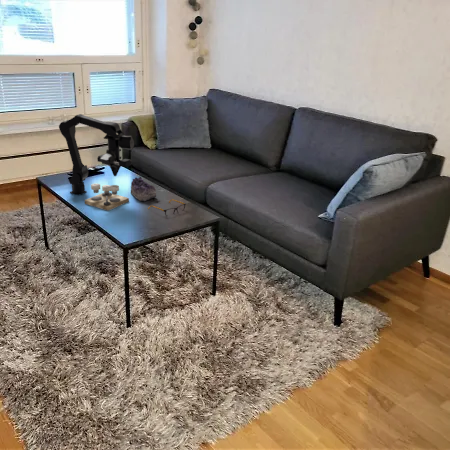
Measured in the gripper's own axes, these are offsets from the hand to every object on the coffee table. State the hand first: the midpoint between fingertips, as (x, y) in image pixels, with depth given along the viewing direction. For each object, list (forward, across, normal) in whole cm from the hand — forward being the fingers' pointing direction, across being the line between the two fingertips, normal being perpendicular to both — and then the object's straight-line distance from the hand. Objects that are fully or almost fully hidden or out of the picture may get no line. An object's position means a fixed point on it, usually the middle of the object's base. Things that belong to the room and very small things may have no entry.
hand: (115, 176), depth 245 cm
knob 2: (+10, -3, -4) cm, 11 cm away
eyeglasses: (+13, +32, +1) cm, 35 cm away
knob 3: (+7, +6, -8) cm, 12 cm away
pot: (+10, +7, -15) cm, 19 cm away
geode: (+12, +10, +10) cm, 19 cm away
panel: (+12, +2, -9) cm, 15 cm away
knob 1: (+7, -3, -12) cm, 14 cm away
